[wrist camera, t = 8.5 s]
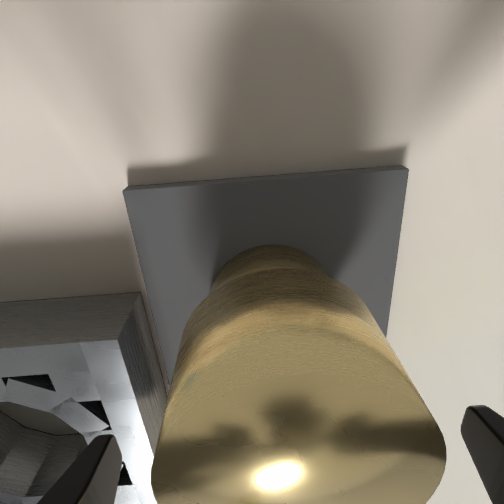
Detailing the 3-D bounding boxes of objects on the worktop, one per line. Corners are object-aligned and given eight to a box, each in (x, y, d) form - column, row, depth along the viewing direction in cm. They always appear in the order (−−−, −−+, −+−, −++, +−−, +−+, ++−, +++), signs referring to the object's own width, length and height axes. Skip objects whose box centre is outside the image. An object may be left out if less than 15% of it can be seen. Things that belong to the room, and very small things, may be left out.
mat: (174, 385, 17) (172, 395, 16) (127, 186, 12) (122, 190, 12) (375, 369, 17) (380, 379, 16) (401, 165, 12) (408, 169, 12)
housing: (-13, 471, 19) (-54, 534, 16) (-120, 312, 14) (-204, 364, 11) (181, 456, 19) (172, 517, 16) (140, 292, 14) (116, 339, 11)
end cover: (203, 364, 15) (177, 566, 9) (180, 234, 12) (118, 389, 6) (344, 353, 15) (422, 547, 9) (352, 221, 12) (475, 360, 6)
